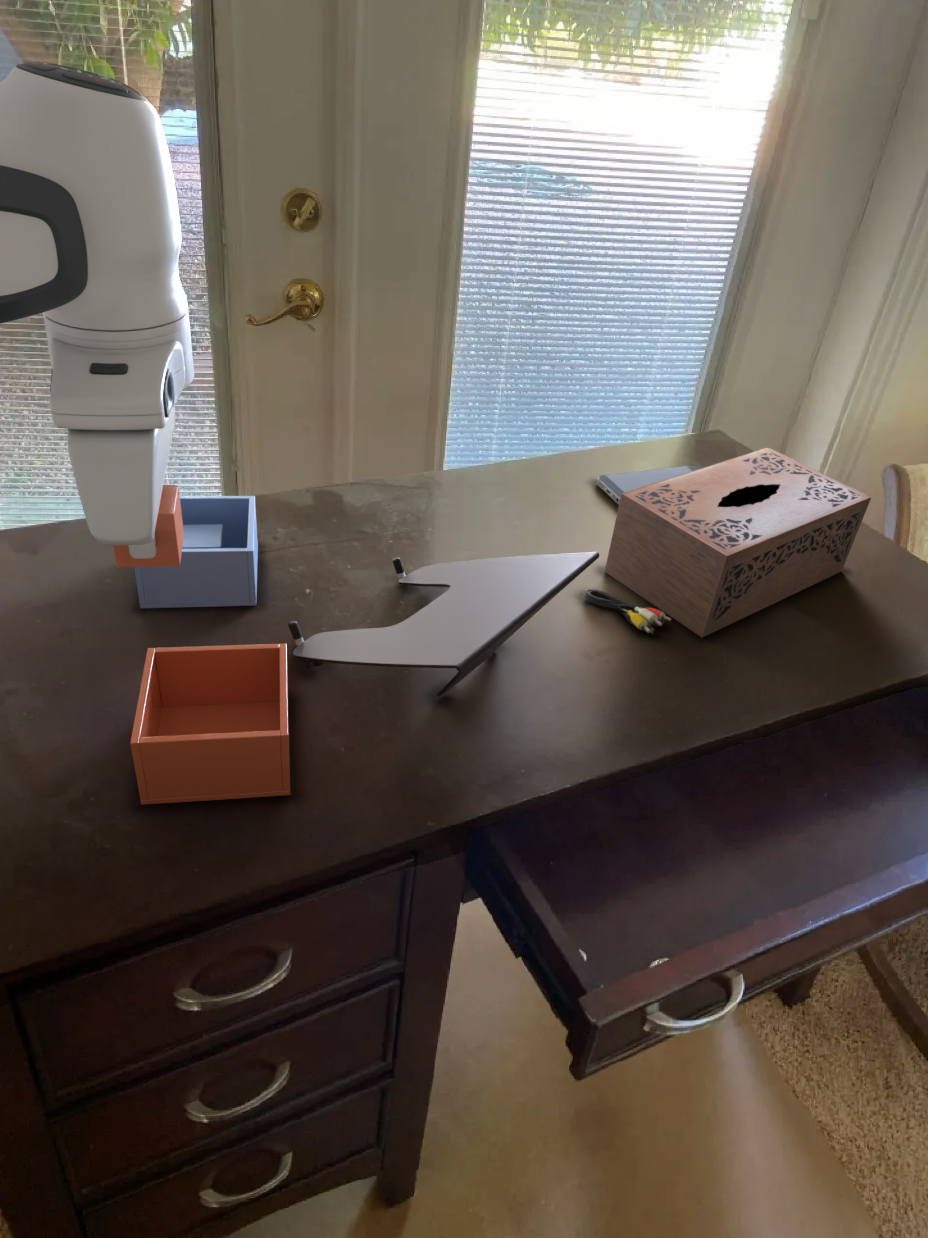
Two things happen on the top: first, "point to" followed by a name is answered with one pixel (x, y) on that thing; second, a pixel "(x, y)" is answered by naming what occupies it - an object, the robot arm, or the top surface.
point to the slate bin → (208, 560)
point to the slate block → (203, 536)
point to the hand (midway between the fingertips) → (148, 533)
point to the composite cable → (629, 610)
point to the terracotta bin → (212, 724)
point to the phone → (637, 480)
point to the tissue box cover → (733, 537)
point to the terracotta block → (161, 534)
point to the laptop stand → (452, 614)
